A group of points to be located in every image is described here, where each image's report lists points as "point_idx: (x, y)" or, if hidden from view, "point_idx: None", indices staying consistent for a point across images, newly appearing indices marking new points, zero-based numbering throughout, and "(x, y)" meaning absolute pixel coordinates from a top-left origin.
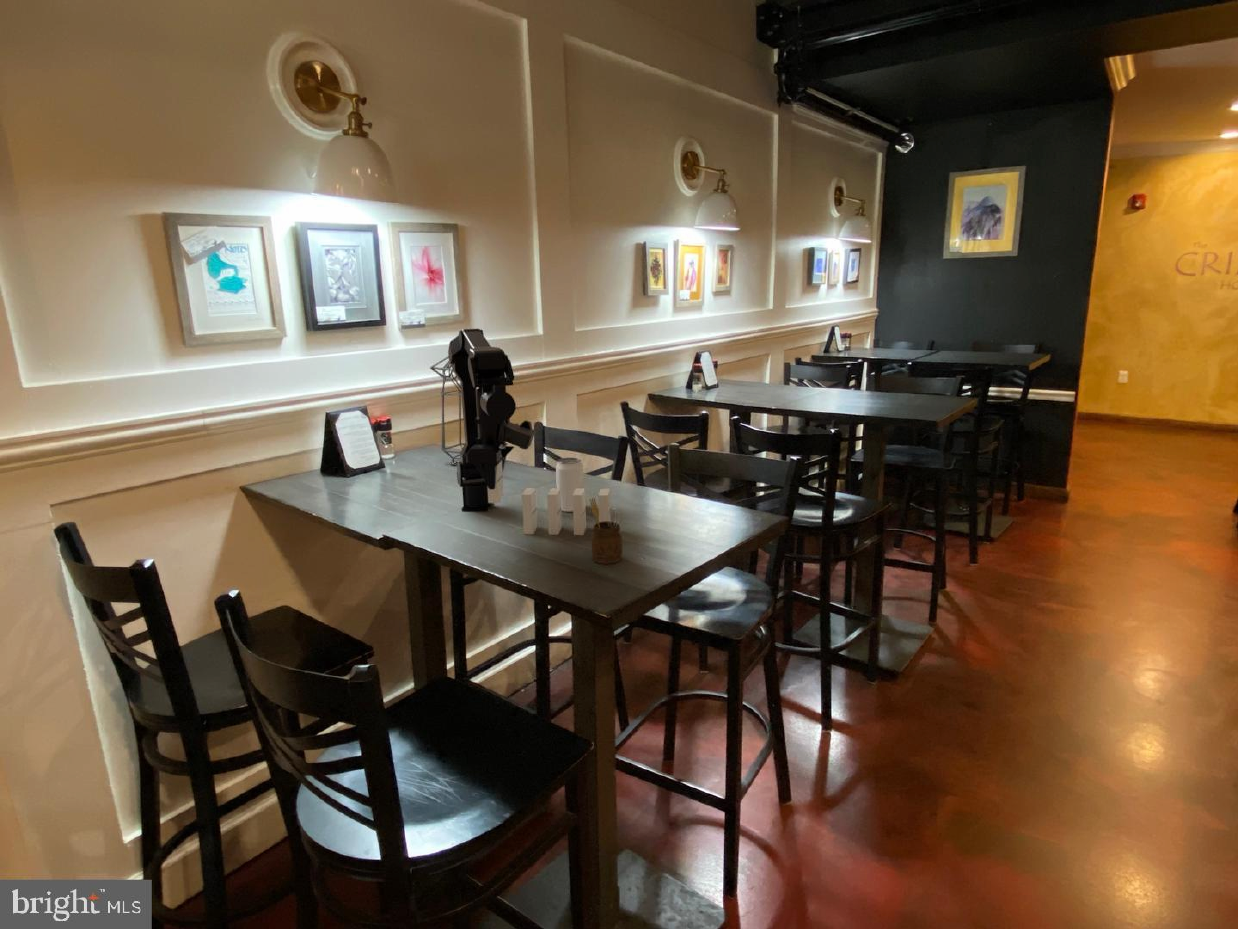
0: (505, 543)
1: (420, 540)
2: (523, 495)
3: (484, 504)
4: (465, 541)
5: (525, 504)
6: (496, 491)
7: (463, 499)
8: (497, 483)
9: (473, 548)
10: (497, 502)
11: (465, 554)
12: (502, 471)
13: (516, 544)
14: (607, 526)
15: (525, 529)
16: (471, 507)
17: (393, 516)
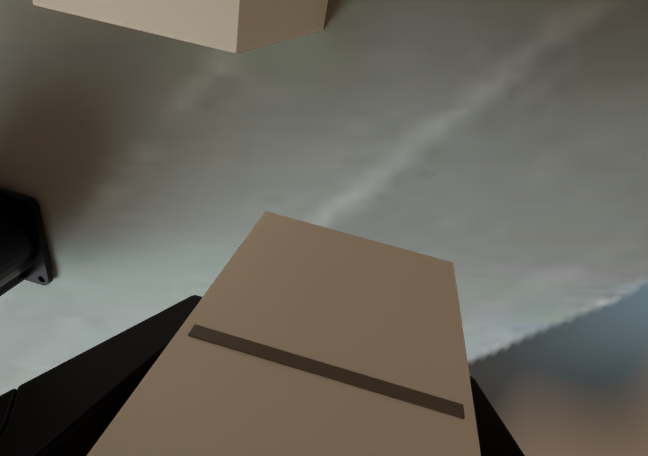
0: (441, 127)
1: None
2: (238, 37)
3: (2, 215)
4: None
5: (272, 17)
6: (459, 336)
7: (2, 294)
8: (439, 384)
9: (464, 259)
10: (453, 268)
11: (527, 288)
12: (156, 371)
13: (473, 71)
14: None
15: (317, 21)
16: (32, 256)
17: None
